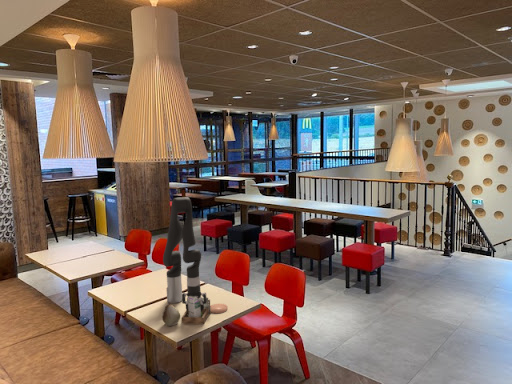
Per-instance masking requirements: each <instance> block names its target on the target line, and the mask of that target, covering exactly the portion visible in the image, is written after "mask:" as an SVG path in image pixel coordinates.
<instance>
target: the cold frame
mask: <svg viewBox="0 0 512 384" xmlns="http://www.w3.org/2000/svg"><path fill="white" fill-rule="evenodd" d="M206 297H207V302H206V304H204V309H203V311H202V317H189V311H187V310H186V309H185V311H184V313H183V315H181V317H180V319H181V324H182V325H185V324H186V325H192V324H193V325H204V324H205V323H206V320H207V318H208V316H209V315H211V314H212V313H211V309H210V306H211V299H209V297H208V296H206ZM201 298H202V300H203V301H204V298H203V297H202V296H201ZM187 300H188V298H187V297H186V301H187Z"/></svg>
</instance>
